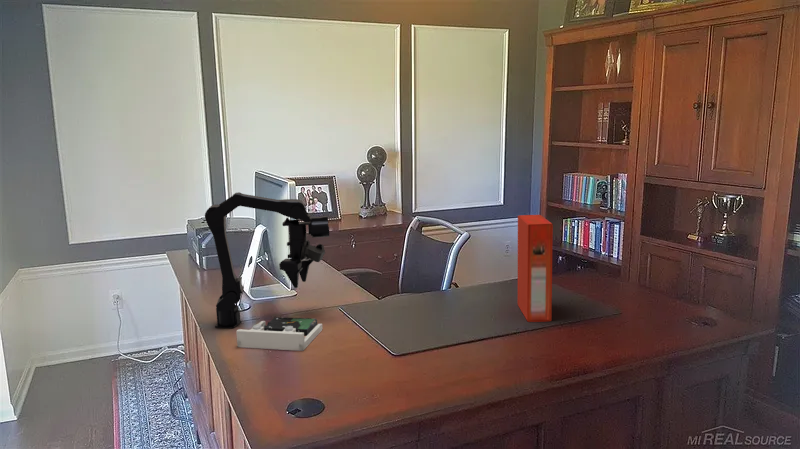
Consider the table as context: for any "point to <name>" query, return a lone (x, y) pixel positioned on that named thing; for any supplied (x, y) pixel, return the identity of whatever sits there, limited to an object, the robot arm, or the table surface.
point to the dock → (275, 338)
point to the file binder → (535, 267)
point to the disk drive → (292, 324)
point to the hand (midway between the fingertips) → (300, 284)
